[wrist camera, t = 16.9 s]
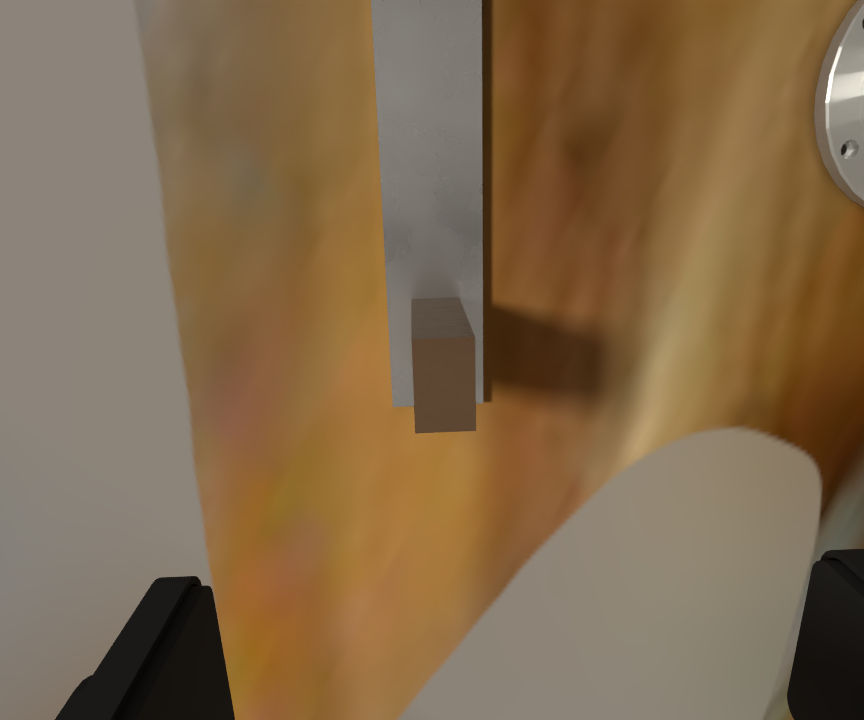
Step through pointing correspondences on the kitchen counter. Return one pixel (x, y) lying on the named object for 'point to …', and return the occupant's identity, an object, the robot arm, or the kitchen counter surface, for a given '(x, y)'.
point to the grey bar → (432, 204)
